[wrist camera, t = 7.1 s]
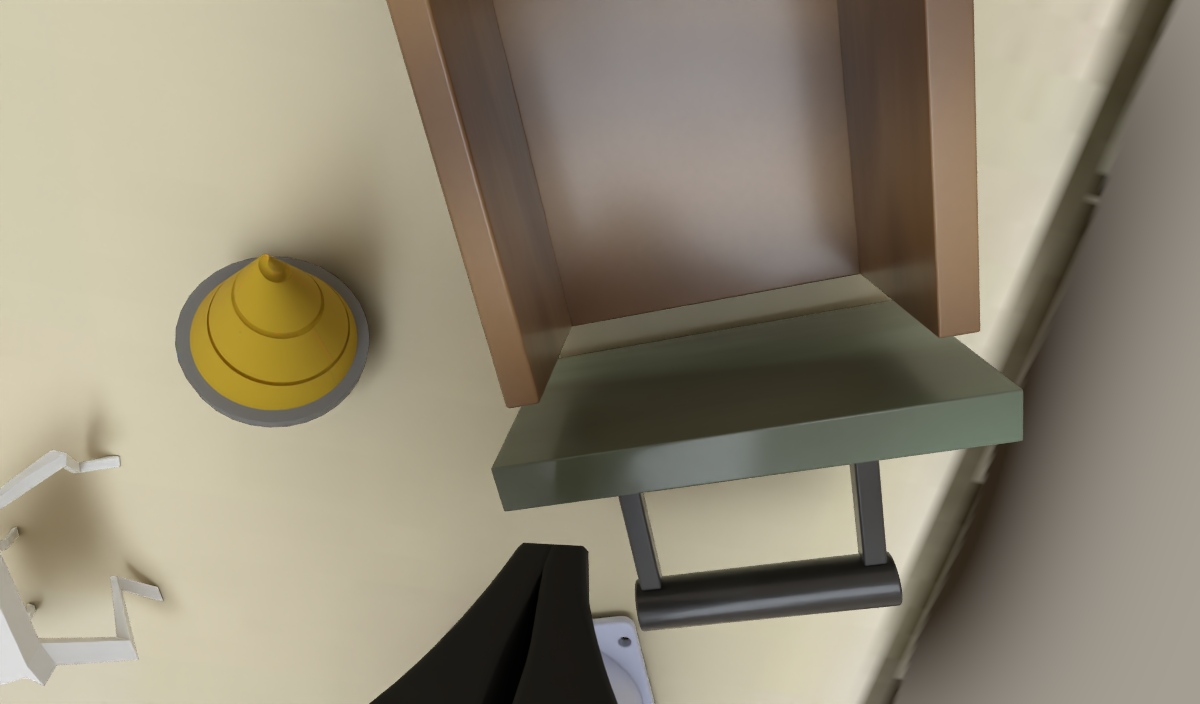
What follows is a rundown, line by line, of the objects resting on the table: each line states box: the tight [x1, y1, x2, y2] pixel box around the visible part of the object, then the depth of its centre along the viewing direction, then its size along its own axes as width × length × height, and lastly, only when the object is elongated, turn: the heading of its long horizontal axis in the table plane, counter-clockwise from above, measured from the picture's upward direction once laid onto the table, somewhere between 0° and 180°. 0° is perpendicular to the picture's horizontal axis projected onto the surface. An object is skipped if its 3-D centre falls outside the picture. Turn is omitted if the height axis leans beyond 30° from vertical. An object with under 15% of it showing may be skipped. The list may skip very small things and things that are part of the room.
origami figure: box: [0, 450, 163, 686], centre depth 24 cm, size 12×8×5 cm
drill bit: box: [175, 254, 369, 427], centre depth 19 cm, size 5×5×10 cm
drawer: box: [386, 0, 1023, 631], centre depth 16 cm, size 20×11×7 cm, turn 13°
